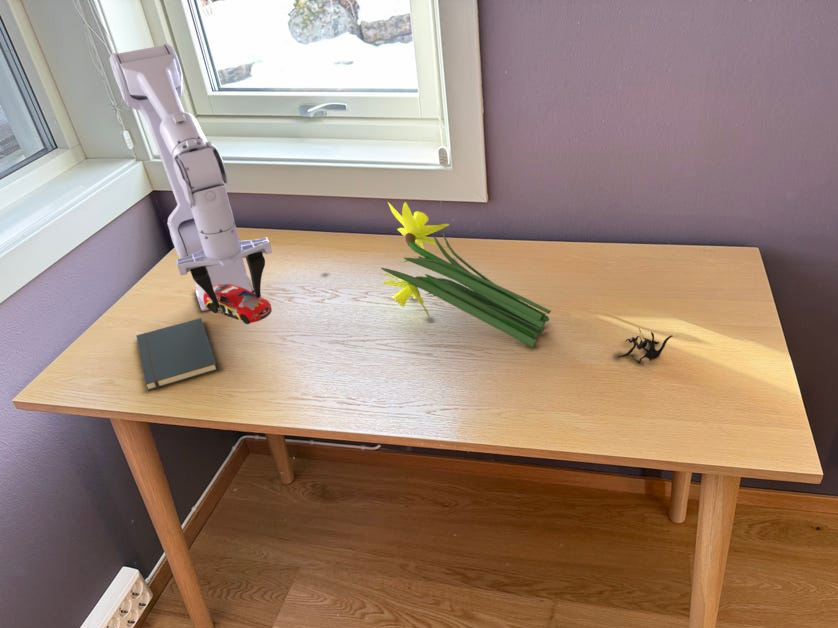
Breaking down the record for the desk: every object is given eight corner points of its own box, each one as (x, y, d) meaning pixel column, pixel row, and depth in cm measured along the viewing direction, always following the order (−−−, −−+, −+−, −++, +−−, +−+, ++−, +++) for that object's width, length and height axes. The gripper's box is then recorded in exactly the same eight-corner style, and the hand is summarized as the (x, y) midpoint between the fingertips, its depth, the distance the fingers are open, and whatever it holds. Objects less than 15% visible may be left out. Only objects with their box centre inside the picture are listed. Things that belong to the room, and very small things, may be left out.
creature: (608, 357, 123) (638, 374, 117) (605, 327, 121) (635, 342, 114) (647, 343, 126) (679, 358, 119) (645, 313, 124) (677, 326, 117)
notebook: (203, 324, 136) (201, 317, 135) (218, 370, 124) (216, 363, 124) (138, 342, 132) (136, 335, 132) (148, 391, 121) (145, 384, 120)
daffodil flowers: (508, 377, 120) (333, 278, 129) (533, 369, 134) (374, 280, 143) (555, 281, 116) (372, 186, 126) (577, 283, 130) (410, 197, 139)
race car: (279, 313, 128) (274, 292, 125) (255, 329, 124) (249, 308, 122) (226, 294, 134) (220, 274, 131) (201, 309, 130) (195, 288, 128)
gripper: (171, 247, 113) (196, 323, 121) (268, 224, 118) (285, 299, 126) (165, 229, 118) (189, 303, 127) (258, 207, 123) (276, 280, 131)
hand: (237, 300), depth 127 cm, fingers closed on race car, 6 cm apart
